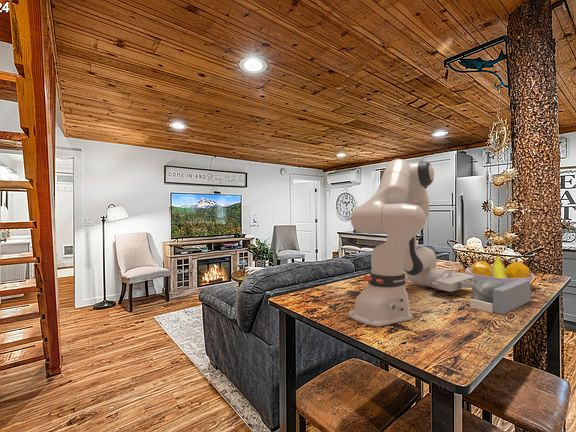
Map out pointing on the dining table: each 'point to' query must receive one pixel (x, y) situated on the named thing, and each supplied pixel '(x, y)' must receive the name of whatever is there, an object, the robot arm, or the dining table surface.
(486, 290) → the grey stone
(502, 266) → the fruit bowl
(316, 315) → the dining table surface
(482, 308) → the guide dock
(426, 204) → the robot arm
